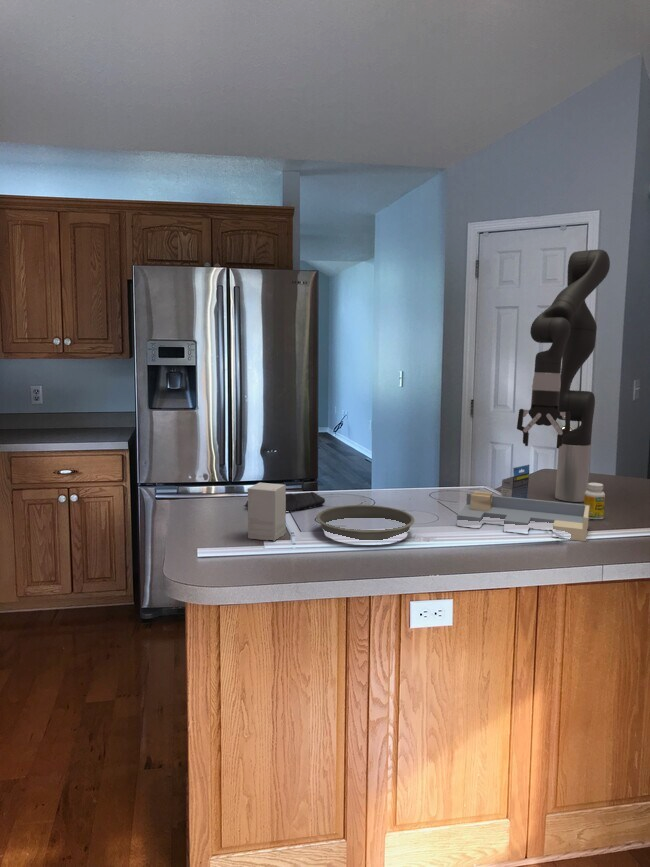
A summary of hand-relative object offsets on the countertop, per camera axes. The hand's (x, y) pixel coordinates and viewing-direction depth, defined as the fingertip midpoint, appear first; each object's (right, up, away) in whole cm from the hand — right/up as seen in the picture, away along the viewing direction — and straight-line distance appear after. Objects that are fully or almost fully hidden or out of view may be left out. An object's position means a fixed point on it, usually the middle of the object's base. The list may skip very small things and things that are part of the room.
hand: (541, 447), depth 208 cm
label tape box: (-6, -18, +8) cm, 20 cm away
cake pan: (-51, -22, -22) cm, 60 cm away
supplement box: (-75, -22, -27) cm, 83 cm away
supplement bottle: (+13, -20, -3) cm, 24 cm away
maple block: (-19, -17, -7) cm, 26 cm away
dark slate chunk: (-72, -18, +3) cm, 75 cm away
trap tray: (-9, -21, -14) cm, 26 cm away
